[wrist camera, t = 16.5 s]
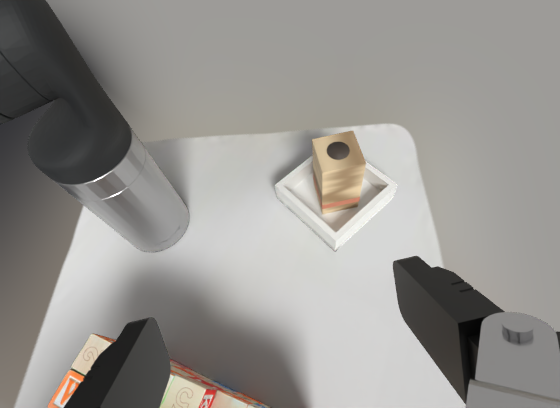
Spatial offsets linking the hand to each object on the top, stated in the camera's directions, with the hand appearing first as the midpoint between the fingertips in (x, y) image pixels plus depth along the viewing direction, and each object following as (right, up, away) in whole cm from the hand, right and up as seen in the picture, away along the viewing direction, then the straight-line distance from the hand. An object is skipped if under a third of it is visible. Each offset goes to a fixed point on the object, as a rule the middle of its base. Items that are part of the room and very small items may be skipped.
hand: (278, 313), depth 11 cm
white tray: (+8, +4, +37) cm, 38 cm away
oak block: (+8, +5, +36) cm, 38 cm away
